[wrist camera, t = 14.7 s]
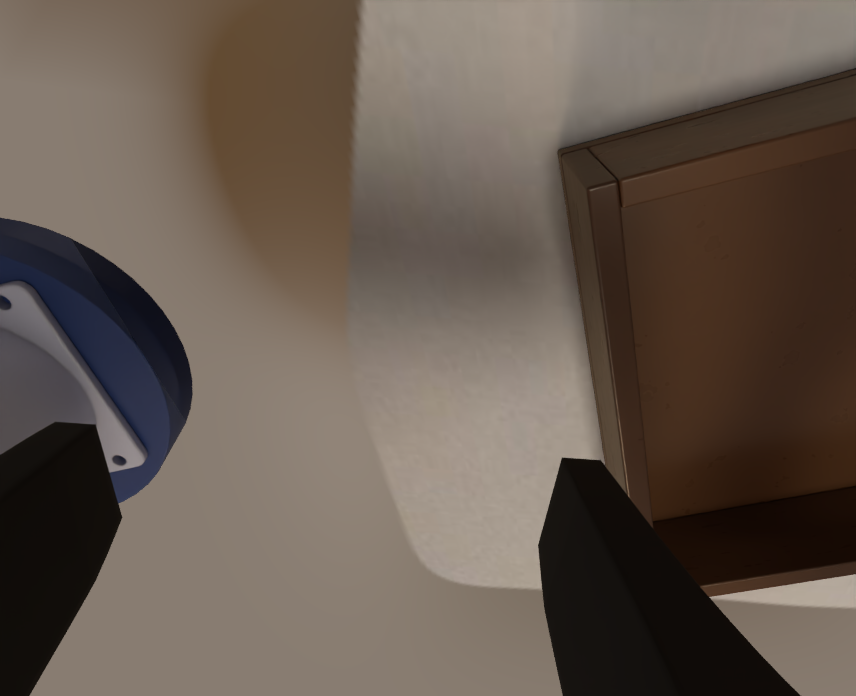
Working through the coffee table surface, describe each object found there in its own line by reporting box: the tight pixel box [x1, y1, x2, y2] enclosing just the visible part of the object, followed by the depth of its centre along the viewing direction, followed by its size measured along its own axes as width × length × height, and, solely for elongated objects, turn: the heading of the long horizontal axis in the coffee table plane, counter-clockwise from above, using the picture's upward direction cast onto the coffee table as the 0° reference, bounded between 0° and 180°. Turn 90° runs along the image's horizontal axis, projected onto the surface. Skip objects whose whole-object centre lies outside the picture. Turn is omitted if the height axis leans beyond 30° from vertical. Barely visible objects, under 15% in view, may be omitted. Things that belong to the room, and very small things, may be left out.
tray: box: [558, 69, 856, 597], centre depth 17 cm, size 12×15×4 cm
